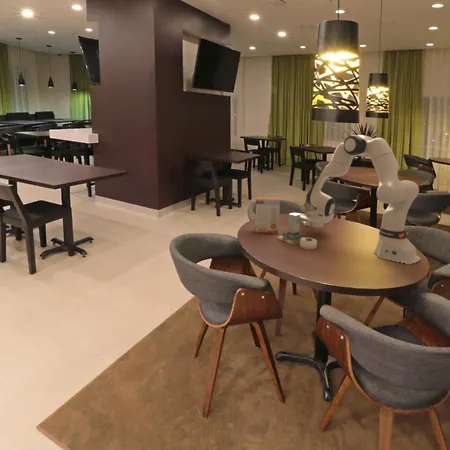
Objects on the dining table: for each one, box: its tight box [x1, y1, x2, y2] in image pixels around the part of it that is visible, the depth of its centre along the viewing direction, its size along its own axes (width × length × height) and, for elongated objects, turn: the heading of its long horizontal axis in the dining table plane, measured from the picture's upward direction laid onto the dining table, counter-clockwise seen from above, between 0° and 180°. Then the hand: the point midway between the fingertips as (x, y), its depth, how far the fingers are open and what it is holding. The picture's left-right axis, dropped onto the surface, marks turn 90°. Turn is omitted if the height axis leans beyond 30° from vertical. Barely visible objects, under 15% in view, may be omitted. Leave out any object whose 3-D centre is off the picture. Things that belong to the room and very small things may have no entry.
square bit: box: [287, 212, 301, 235], centre depth 239 cm, size 4×4×14 cm
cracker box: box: [254, 196, 281, 235], centre depth 251 cm, size 14×6×21 cm, turn 84°
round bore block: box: [299, 236, 318, 251], centre depth 230 cm, size 9×9×4 cm
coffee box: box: [303, 199, 317, 215], centre depth 275 cm, size 9×6×16 cm
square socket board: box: [277, 230, 304, 246], centre depth 241 cm, size 12×12×4 cm
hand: (296, 222), depth 240 cm, fingers open, 8 cm apart
